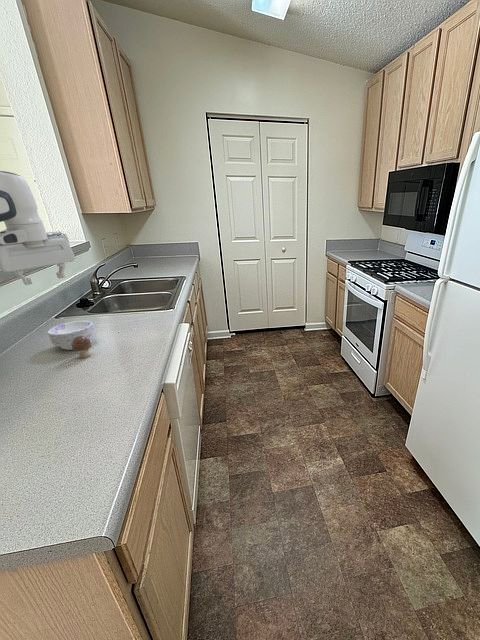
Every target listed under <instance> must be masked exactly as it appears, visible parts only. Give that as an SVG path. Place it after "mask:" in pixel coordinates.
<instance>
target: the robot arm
mask: <svg viewBox="0 0 480 640" xmlns="http://www.w3.org/2000/svg"><path fill="white" fill-rule="evenodd" d="M1 222H3V223H4V225H5V228H6V229H3V230H1V231H0V272H3V273H10V272H11V273H12V272H14V274H15V275H16V276H17V277H18V278H20V279H21V280H22V282H23V285H24V286H30V285H32V284H33V282H32V279H31V277H26V276H25V275H23V274H24V271H23V270H29V269H36V268H41V267H47V266H52V265H53V266H54V265H56V266H57V267H59V268H58V271H57V272H55V274H56V278H57V279H59V280H61V279H65V278H66V275H65V273H64V272H65V269H66V263H72V262H74V261H75V259H76V257H75V256H76V255H75V254H74V251H73V249H72V247H71V244H70V241H69V237H68V235H66V234H65V233H64V232H61V231H54V232H52V231H51V232H47V231H46V228H45V226H44V223H43V220H42V219H41V217H40V214H39V212H38V206H37V203H36V200H35V197H34V194H33V192H32V190H31V188H30V186H29V184H28V182H27V181H26V179H25V178H24V177H23V176H21V174H17V173H14V172H10V171H5V170H0V223H1Z"/></svg>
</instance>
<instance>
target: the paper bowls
mask: <svg viewBox="0 0 480 640" xmlns="http://www.w3.org/2000/svg"><path fill="white" fill-rule="evenodd" d="M47 335H48V339H49V340H50V343H51V344H52V345H53V346H57V347H60V348H61V349H62V350H67V351H69V350H70V351H72V350H73V348H72V346H71V343H72V342H73V340H74V338H76V337H78V336H84V337H86V338H87V339H90V341H91V343H92V341H93V339H94V338H95V337H96V336H97V330H96V328H95V325H94V323H93V322H92V321H91V320H74V321H68V322H65V323H64V322H63V323H60V324H58V325H55V326H53V327H50V328H49V329H48V330H47ZM73 351H74V350H73Z"/></svg>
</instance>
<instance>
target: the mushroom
mask: <svg viewBox="0 0 480 640" xmlns="http://www.w3.org/2000/svg"><path fill="white" fill-rule="evenodd" d="M71 346H72V348H73V351H74V352H77V354H78V356H79V358H80V359H86V358H89V357H91V356H92V355H91V354H92V353H91V350H90V349H91V348H92V347H93V345H92V342H91V341H90V339H87V338H86V337H84V336H78V337H76V338H74V340H73V342H72V343H71Z"/></svg>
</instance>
